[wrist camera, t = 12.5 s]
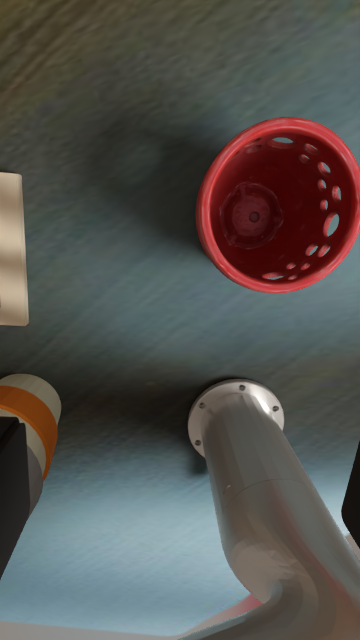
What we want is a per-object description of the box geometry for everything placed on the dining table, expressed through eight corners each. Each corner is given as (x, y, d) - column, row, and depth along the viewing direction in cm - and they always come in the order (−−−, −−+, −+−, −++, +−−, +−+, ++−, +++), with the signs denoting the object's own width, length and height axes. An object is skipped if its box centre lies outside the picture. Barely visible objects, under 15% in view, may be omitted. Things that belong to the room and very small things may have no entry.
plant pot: (327, 191, 36) (404, 176, 25) (262, 293, 39) (304, 323, 28) (227, 124, 34) (261, 73, 22) (165, 238, 37) (168, 245, 25)
